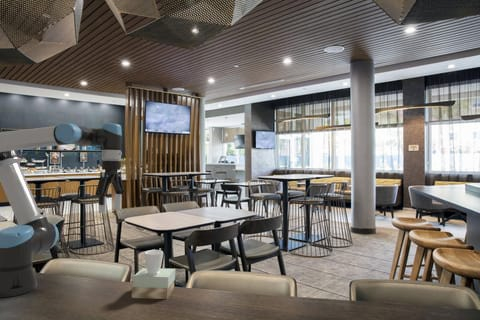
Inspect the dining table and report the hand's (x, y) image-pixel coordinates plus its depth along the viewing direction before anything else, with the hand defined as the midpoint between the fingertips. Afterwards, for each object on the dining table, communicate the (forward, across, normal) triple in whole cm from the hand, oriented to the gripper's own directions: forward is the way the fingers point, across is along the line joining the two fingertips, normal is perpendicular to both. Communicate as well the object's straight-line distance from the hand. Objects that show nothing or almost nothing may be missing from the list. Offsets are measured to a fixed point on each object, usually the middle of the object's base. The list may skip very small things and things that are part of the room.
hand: (110, 211), depth 137 cm
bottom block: (+29, -12, -23) cm, 39 cm away
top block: (+25, -11, -24) cm, 36 cm away
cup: (+21, -11, -23) cm, 34 cm away
